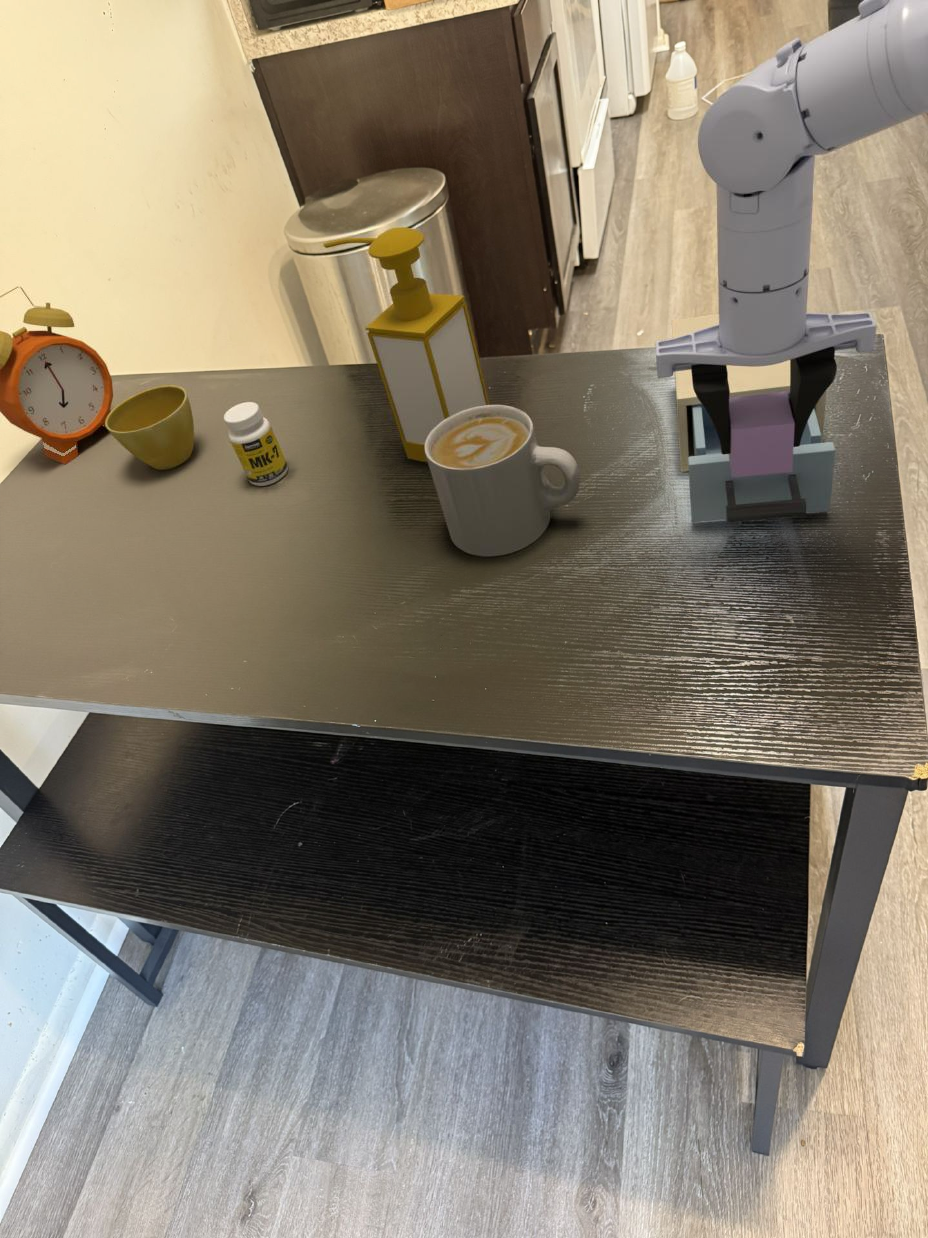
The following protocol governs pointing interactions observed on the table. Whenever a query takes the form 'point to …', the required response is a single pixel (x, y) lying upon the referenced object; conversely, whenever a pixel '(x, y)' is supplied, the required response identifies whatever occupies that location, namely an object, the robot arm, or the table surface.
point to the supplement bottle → (255, 444)
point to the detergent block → (761, 434)
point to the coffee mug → (495, 479)
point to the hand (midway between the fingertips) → (759, 443)
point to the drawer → (757, 478)
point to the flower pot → (155, 426)
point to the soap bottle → (421, 345)
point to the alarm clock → (53, 383)
